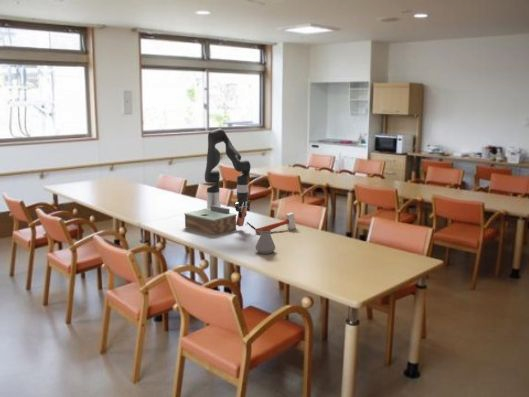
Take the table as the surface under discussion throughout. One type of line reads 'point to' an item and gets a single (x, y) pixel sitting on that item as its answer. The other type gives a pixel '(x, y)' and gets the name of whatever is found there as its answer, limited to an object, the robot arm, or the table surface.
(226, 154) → the robot arm
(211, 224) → the toolbox
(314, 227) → the table surface
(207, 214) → the toolbox lid
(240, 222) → the pin
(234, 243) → the table surface
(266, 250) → the coffee pot
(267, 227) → the mallet
